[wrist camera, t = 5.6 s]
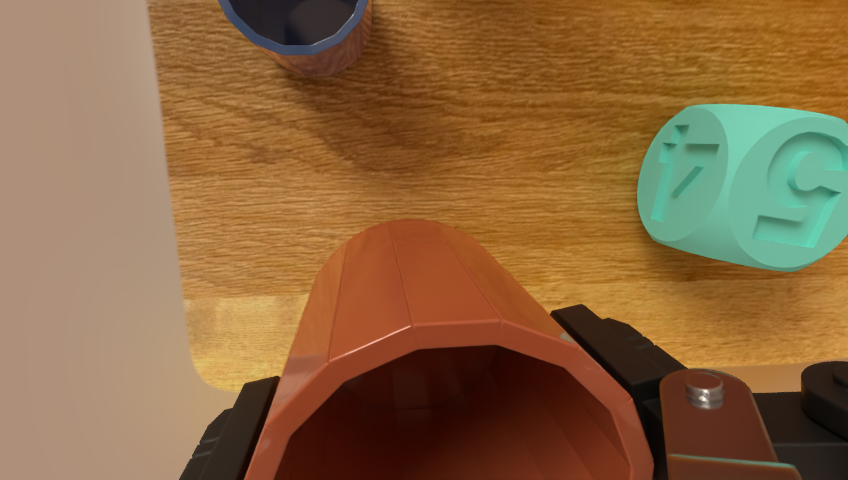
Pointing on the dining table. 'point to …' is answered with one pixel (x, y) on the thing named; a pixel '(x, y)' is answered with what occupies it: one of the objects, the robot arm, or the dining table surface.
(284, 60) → the blue cup
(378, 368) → the terracotta cup
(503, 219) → the dining table surface
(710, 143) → the decorative dice
